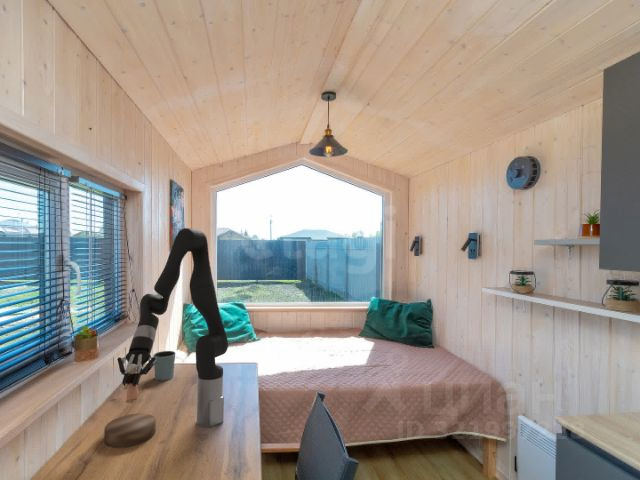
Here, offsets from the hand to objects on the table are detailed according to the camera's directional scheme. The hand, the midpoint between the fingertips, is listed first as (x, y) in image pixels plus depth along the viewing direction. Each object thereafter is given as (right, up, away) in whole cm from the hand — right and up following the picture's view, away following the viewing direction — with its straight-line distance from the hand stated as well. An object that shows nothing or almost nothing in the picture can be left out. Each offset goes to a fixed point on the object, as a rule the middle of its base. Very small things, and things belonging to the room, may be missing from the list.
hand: (129, 385), depth 128 cm
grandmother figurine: (0, -6, +2) cm, 6 cm away
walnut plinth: (-1, -18, +2) cm, 18 cm away
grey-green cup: (-12, -19, +57) cm, 61 cm away
